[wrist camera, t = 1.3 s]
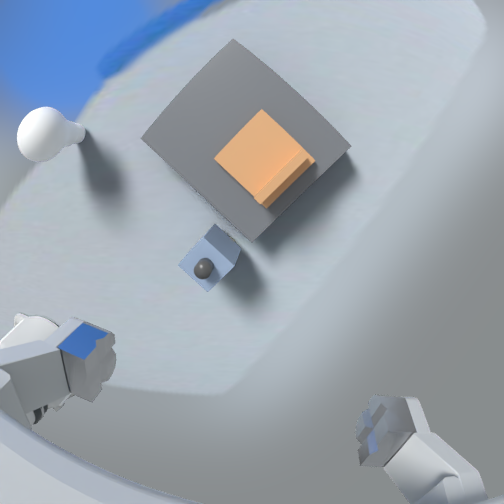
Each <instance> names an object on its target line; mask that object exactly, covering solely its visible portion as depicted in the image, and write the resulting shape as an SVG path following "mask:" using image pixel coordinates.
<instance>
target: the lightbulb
mask: <svg viewBox="0 0 504 504" xmlns="http://www.w3.org/2000/svg"><path fill="white" fill-rule="evenodd" d="M84 137H85V128H84V126H83V125H81V124H75V123H74V122H71V121H67V120H66V119H65V117H64V116H63V115H62V114H61V113H60V112H59V111H58V110H56V109H54V108H51V107H42V108H38V109H35V110H33V111H31V112H30V113H29V114H28V115H27V116H26V117H25V118H24V120H23V121H22V122H21V124H20V126H19V129H18V133H17V143H18V147H19V149H20V151H21V153H22V154H23V155H24V156H25V157H26V158H27V159H29V160H31V161H34V162H44V161H48V160H50V159H52V158H54V157H55V156H56V155H57V154H58V153H59V152H60V151H61V150H62V149H63V148H64V147H67V146H71V145H72V144H77V143H80V142H81V141H82V140H83V139H84Z"/></svg>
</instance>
